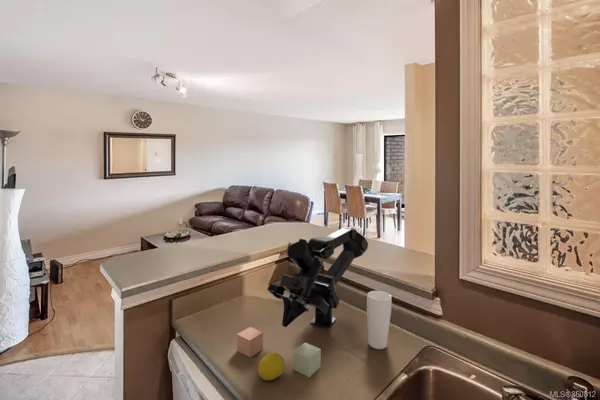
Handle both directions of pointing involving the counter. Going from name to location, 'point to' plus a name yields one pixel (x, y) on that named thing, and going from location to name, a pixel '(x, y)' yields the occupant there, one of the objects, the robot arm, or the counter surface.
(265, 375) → the lemon
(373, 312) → the drinking glass
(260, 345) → the terracotta block
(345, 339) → the counter surface
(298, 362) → the sage block
